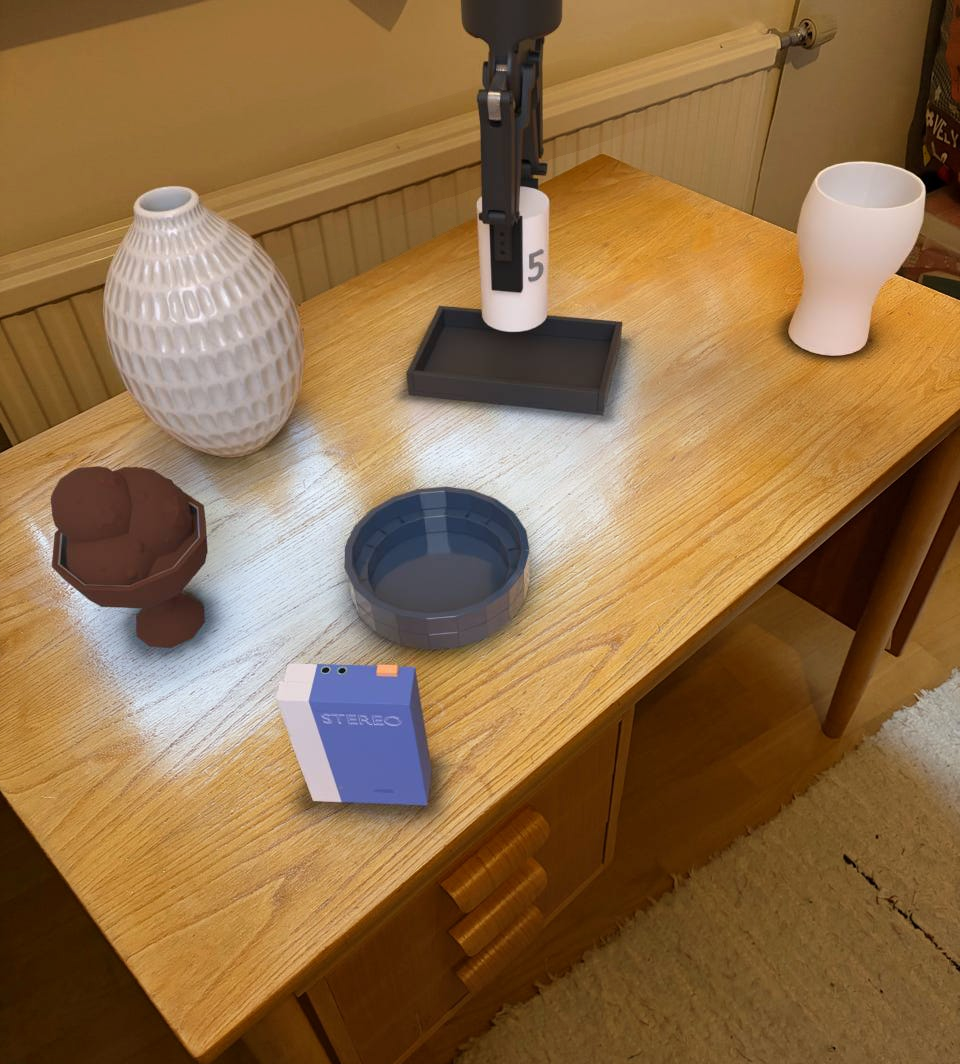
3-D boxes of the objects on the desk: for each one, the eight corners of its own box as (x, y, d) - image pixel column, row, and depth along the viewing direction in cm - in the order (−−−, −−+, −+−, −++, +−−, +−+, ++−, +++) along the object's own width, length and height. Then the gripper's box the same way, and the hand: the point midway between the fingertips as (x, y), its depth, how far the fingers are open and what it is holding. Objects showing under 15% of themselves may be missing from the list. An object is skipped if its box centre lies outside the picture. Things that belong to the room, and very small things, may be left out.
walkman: (432, 770, 62) (414, 662, 53) (427, 806, 60) (408, 701, 51) (319, 765, 63) (282, 658, 53) (311, 801, 61) (272, 696, 52)
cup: (755, 343, 92) (787, 193, 80) (800, 296, 97) (837, 149, 86) (856, 377, 88) (906, 224, 76) (898, 326, 93) (950, 175, 81)
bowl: (543, 534, 76) (544, 498, 73) (507, 665, 67) (506, 631, 64) (382, 513, 78) (376, 477, 75) (328, 637, 70) (318, 602, 67)
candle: (510, 340, 84) (506, 174, 72) (468, 311, 87) (458, 147, 75) (562, 316, 86) (567, 150, 74) (520, 288, 89) (518, 125, 78)
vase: (121, 433, 87) (21, 200, 70) (264, 364, 94) (204, 135, 76) (207, 517, 79) (117, 277, 62) (356, 435, 85) (312, 197, 68)
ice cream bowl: (158, 700, 67) (80, 556, 55) (73, 627, 72) (-15, 482, 60) (267, 614, 72) (216, 466, 60) (180, 552, 76) (118, 404, 65)
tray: (620, 343, 93) (622, 321, 91) (603, 415, 86) (604, 393, 84) (440, 326, 97) (438, 305, 95) (408, 394, 89) (406, 373, 87)
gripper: (490, -74, 72) (498, 216, 90) (425, 8, 60) (449, 323, 78) (584, -73, 70) (573, 221, 88) (536, 11, 59) (535, 331, 77)
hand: (515, 268), depth 83 cm, fingers closed on candle, 6 cm apart
